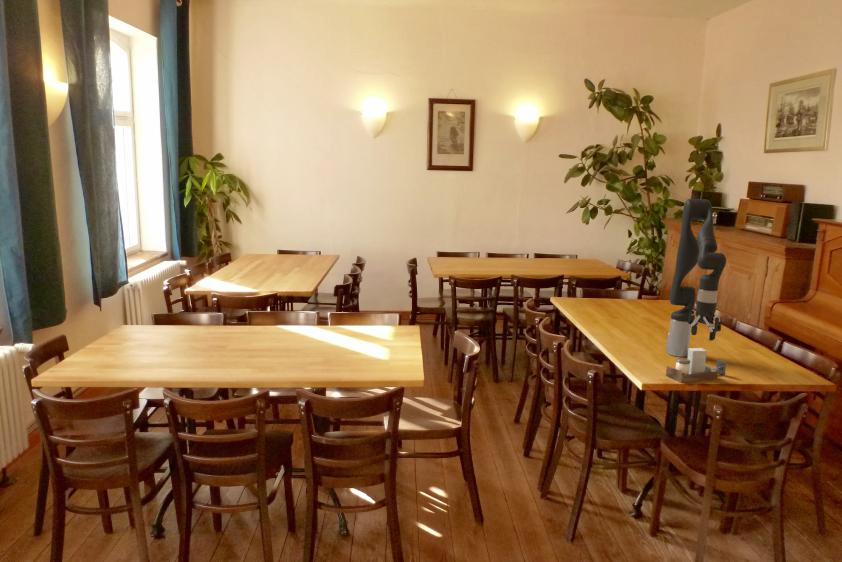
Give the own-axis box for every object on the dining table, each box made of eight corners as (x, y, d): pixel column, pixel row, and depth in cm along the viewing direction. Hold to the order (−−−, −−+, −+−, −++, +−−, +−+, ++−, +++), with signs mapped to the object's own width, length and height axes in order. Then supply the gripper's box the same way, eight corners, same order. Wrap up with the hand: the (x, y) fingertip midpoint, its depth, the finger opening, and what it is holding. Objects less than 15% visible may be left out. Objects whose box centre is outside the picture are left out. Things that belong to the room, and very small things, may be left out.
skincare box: (698, 374, 252) (701, 347, 250) (704, 378, 248) (707, 350, 246) (685, 374, 252) (688, 347, 250) (690, 378, 248) (693, 351, 245)
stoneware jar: (671, 376, 249) (673, 358, 247) (681, 375, 251) (683, 357, 249) (680, 381, 244) (682, 362, 242) (691, 379, 246) (693, 361, 244)
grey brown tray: (665, 377, 250) (666, 366, 249) (700, 373, 257) (702, 362, 256) (680, 384, 242) (682, 373, 241) (716, 379, 248) (718, 368, 248)
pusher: (698, 374, 254) (699, 360, 253) (715, 371, 257) (717, 358, 256) (708, 378, 249) (710, 365, 248) (726, 376, 252) (728, 362, 251)
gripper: (728, 303, 239) (723, 341, 243) (698, 295, 252) (694, 332, 255) (715, 304, 236) (711, 343, 239) (686, 297, 249) (682, 334, 252)
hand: (702, 337), depth 247 cm, fingers open, 8 cm apart
